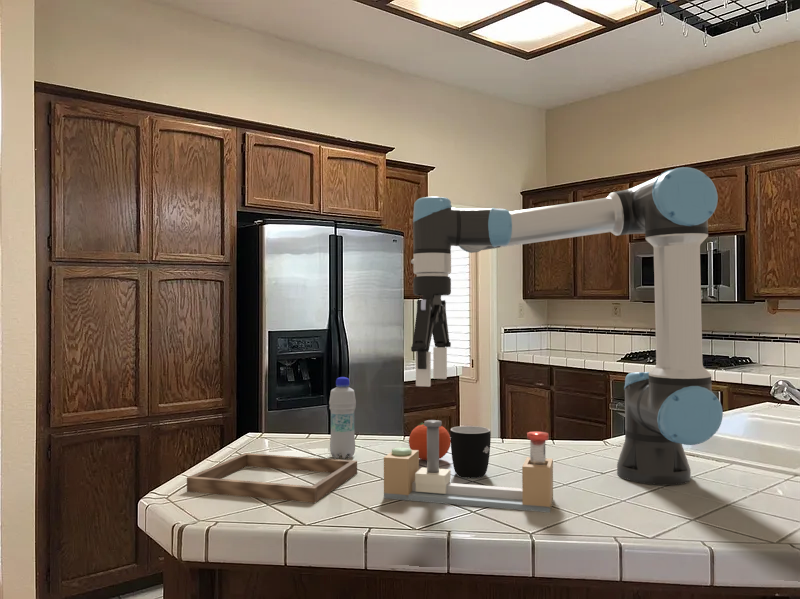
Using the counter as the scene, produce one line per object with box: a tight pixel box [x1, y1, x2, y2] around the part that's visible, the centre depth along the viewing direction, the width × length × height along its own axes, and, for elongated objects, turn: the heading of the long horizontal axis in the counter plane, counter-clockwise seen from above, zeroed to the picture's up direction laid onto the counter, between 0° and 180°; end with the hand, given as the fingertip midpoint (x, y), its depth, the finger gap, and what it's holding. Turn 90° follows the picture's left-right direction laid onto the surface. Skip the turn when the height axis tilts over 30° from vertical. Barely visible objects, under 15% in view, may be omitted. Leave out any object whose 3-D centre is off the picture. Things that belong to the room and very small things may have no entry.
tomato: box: [408, 422, 451, 462], centre depth 162 cm, size 10×10×10 cm
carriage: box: [415, 419, 452, 494], centre depth 132 cm, size 6×5×14 cm
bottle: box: [328, 376, 357, 460], centre depth 166 cm, size 7×7×20 cm
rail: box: [383, 447, 554, 513], centre depth 130 cm, size 32×8×9 cm, turn 73°
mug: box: [449, 425, 492, 479], centre depth 150 cm, size 12×9×10 cm
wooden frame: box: [186, 452, 358, 504], centre depth 143 cm, size 28×23×3 cm
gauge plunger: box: [526, 431, 550, 465], centre depth 126 cm, size 4×4×9 cm
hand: (432, 382), depth 132 cm, fingers open, 13 cm apart
